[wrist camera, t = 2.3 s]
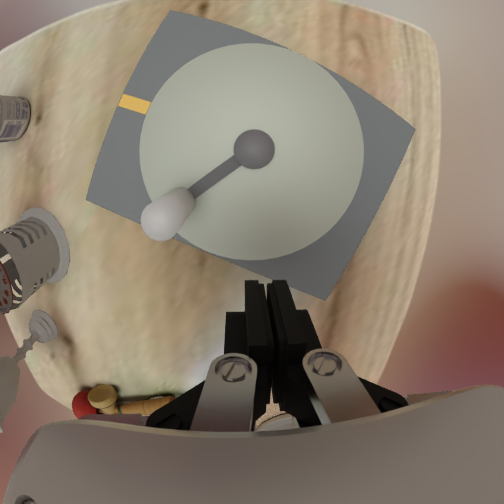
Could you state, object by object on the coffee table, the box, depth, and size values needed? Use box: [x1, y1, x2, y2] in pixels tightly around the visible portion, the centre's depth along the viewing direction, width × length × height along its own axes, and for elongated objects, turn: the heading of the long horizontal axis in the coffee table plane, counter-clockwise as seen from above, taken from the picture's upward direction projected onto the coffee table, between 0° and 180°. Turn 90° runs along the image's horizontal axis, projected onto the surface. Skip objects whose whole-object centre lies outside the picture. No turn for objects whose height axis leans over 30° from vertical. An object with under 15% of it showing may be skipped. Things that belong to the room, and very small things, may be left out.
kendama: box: [72, 384, 174, 419], centre depth 32 cm, size 8×6×18 cm
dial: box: [139, 43, 364, 260], centre depth 18 cm, size 18×18×8 cm
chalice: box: [0, 310, 58, 433], centre depth 21 cm, size 7×7×18 cm
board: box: [86, 10, 415, 300], centre depth 22 cm, size 26×20×2 cm
